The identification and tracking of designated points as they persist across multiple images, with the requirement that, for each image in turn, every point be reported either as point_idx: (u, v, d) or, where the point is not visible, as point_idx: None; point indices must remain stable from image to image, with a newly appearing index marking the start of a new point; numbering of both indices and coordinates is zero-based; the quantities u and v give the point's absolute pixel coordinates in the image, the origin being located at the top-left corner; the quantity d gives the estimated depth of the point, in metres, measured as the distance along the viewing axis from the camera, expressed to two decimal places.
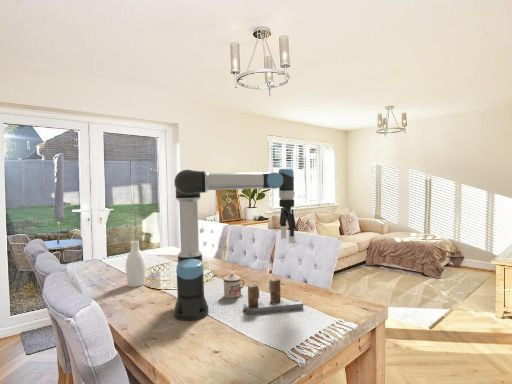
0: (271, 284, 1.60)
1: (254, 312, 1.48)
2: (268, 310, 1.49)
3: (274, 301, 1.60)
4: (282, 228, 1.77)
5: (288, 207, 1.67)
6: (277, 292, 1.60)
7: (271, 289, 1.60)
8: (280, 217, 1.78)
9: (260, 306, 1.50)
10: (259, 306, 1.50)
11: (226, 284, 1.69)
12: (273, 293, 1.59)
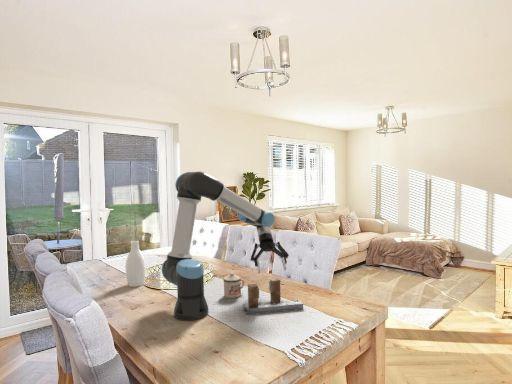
0: (271, 284, 1.60)
1: (254, 312, 1.48)
2: (268, 310, 1.49)
3: (274, 301, 1.60)
4: None
5: None
6: (277, 292, 1.60)
7: (271, 289, 1.60)
8: (254, 251, 1.75)
9: (260, 306, 1.50)
10: (259, 306, 1.50)
11: (226, 284, 1.69)
12: (273, 293, 1.59)
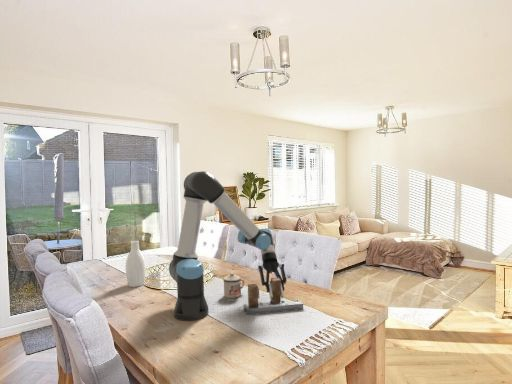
0: (272, 284, 1.60)
1: (254, 312, 1.48)
2: (268, 310, 1.49)
3: (274, 301, 1.60)
4: None
5: None
6: (277, 292, 1.60)
7: (271, 289, 1.60)
8: (262, 275, 1.64)
9: (260, 306, 1.50)
10: (259, 306, 1.50)
11: (226, 284, 1.69)
12: (273, 293, 1.59)
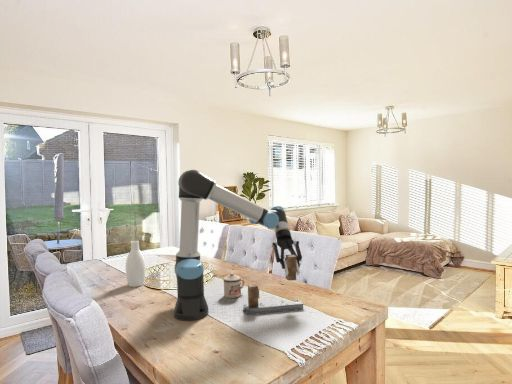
0: (287, 260, 1.54)
1: (254, 312, 1.48)
2: (268, 310, 1.49)
3: (290, 278, 1.54)
4: None
5: None
6: (293, 269, 1.54)
7: (287, 265, 1.54)
8: (276, 252, 1.58)
9: (260, 306, 1.50)
10: (259, 306, 1.50)
11: (226, 284, 1.69)
12: (289, 269, 1.54)
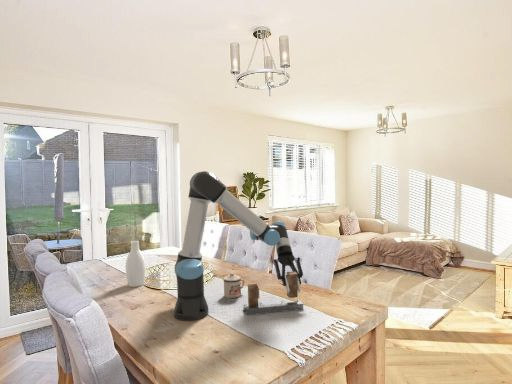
0: (288, 277, 1.55)
1: (254, 312, 1.48)
2: (268, 310, 1.49)
3: (291, 295, 1.55)
4: None
5: None
6: (294, 286, 1.55)
7: (288, 283, 1.55)
8: (278, 269, 1.59)
9: (260, 306, 1.50)
10: (259, 306, 1.50)
11: (226, 284, 1.69)
12: (290, 287, 1.54)
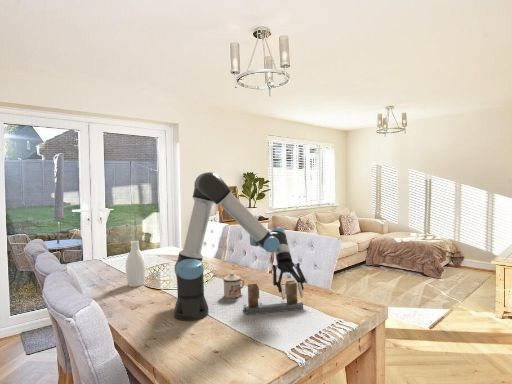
0: (287, 287, 1.55)
1: (254, 312, 1.48)
2: (268, 310, 1.49)
3: None
4: None
5: None
6: (293, 295, 1.55)
7: (287, 292, 1.55)
8: (275, 275, 1.59)
9: (260, 306, 1.50)
10: (259, 306, 1.50)
11: (226, 284, 1.69)
12: (290, 296, 1.55)
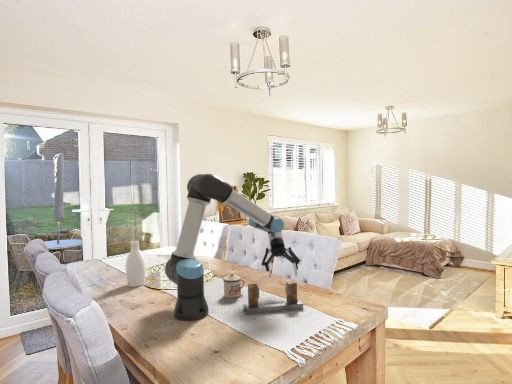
0: (288, 287, 1.55)
1: (254, 312, 1.48)
2: (268, 310, 1.49)
3: None
4: None
5: None
6: (293, 296, 1.55)
7: (287, 292, 1.55)
8: (265, 256, 1.74)
9: (260, 306, 1.50)
10: (259, 306, 1.50)
11: (226, 284, 1.69)
12: (290, 296, 1.55)
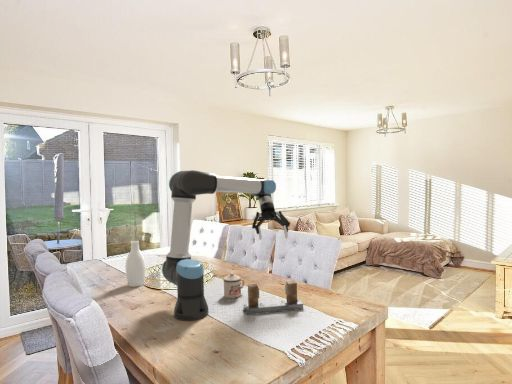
0: (288, 287, 1.55)
1: (254, 312, 1.48)
2: (268, 310, 1.49)
3: None
4: None
5: (274, 211, 1.82)
6: (293, 296, 1.55)
7: (287, 292, 1.55)
8: (255, 219, 1.75)
9: (260, 306, 1.50)
10: (259, 306, 1.50)
11: (226, 284, 1.69)
12: (290, 296, 1.55)
